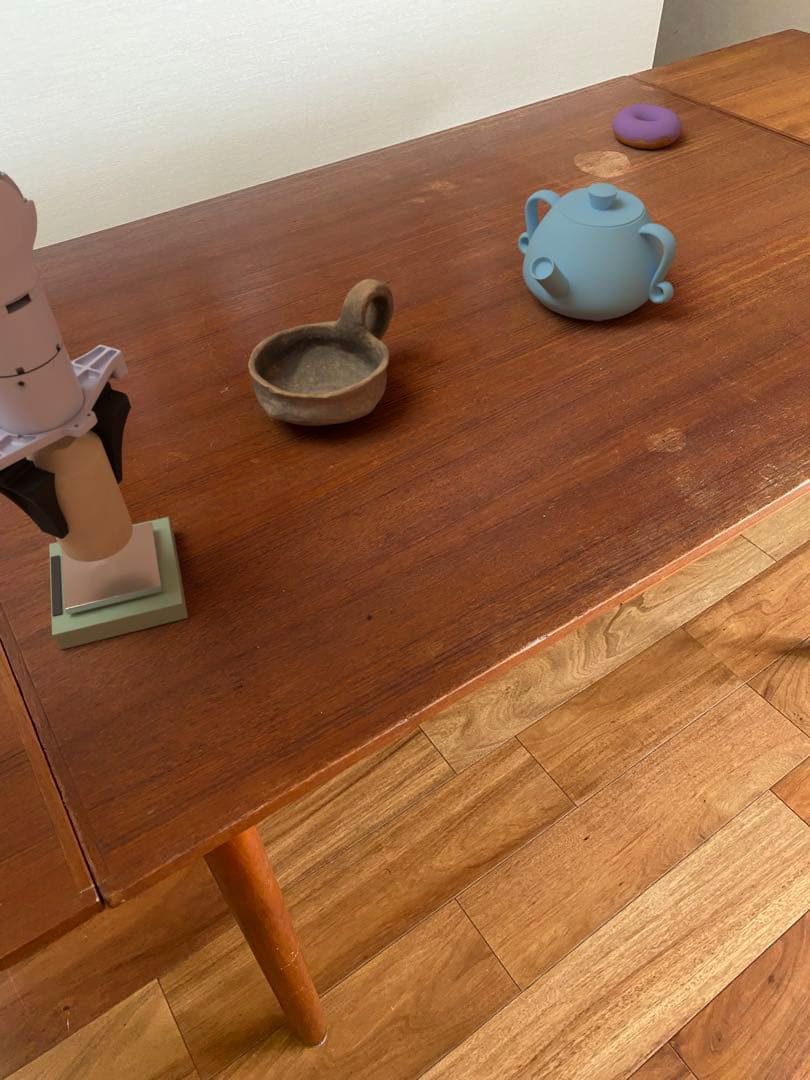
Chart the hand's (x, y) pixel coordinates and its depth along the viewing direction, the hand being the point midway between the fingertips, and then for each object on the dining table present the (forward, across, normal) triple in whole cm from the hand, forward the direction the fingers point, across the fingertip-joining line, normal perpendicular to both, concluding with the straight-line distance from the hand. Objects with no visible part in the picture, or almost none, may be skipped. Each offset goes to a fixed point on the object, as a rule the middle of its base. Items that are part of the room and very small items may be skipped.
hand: (82, 504), depth 64 cm
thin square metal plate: (+8, 0, 0) cm, 8 cm away
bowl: (+10, +30, -4) cm, 32 cm away
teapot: (+11, +56, -20) cm, 60 cm away
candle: (+4, 0, 0) cm, 4 cm away
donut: (+11, +102, -15) cm, 104 cm away
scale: (+10, 0, 0) cm, 10 cm away
